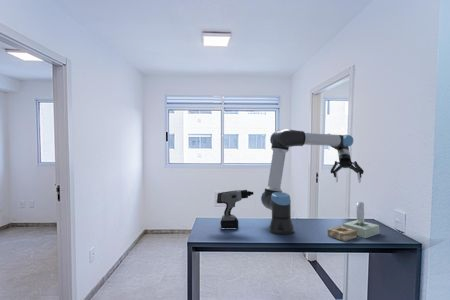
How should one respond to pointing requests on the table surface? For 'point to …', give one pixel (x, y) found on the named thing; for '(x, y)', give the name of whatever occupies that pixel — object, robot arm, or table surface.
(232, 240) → the table surface
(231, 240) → the table surface
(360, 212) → the cylinder
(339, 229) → the maple sleeve
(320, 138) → the robot arm
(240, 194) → the cordless drill
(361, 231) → the sage rack
